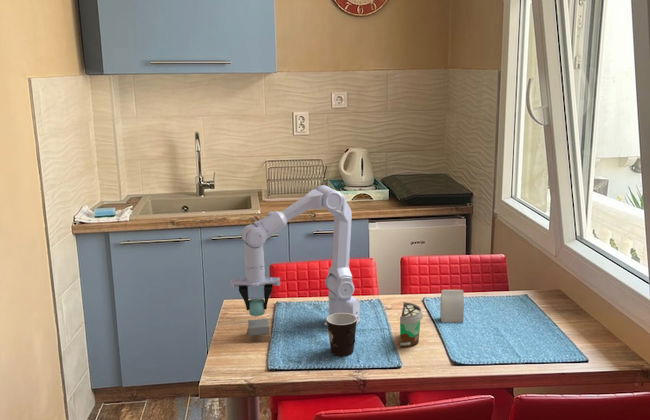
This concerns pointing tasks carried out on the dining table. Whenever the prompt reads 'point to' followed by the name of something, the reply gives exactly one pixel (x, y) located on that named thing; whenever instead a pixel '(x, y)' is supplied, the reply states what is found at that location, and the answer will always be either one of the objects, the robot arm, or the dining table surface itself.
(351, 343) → the coffee mug
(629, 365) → the dining table surface
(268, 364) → the dining table surface
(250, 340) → the base block
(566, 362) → the dining table surface
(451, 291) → the grey rectangular block
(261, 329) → the top block
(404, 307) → the food container
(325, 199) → the robot arm
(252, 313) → the green rounded cylinder
